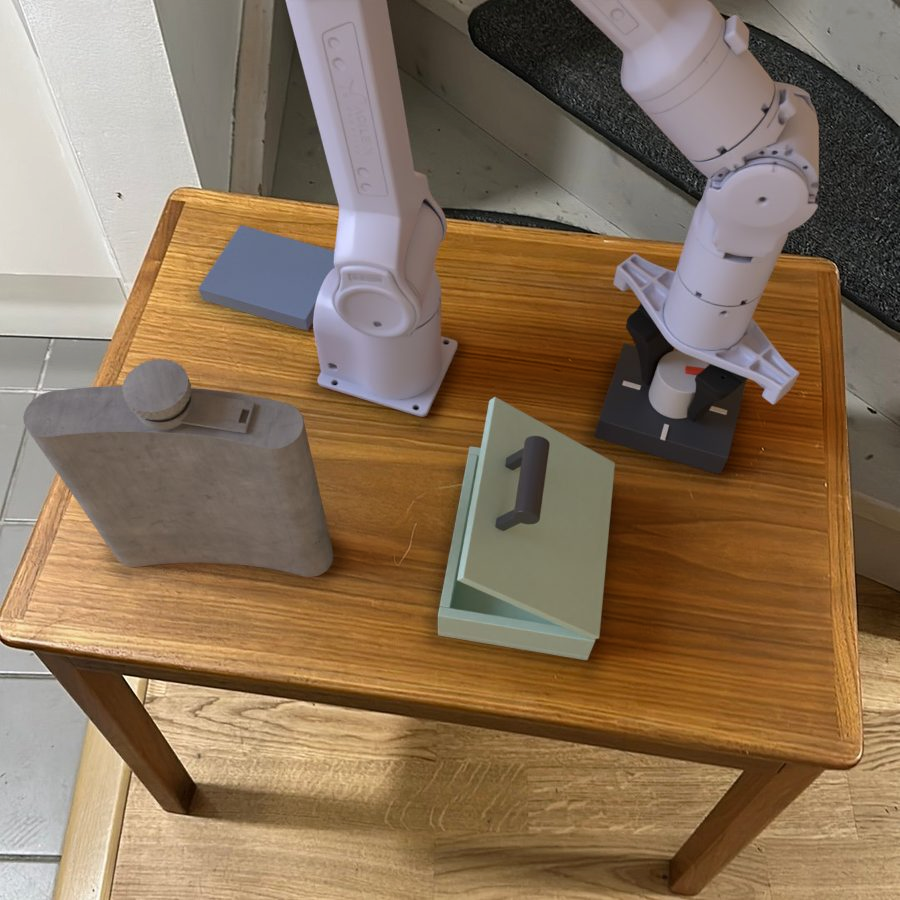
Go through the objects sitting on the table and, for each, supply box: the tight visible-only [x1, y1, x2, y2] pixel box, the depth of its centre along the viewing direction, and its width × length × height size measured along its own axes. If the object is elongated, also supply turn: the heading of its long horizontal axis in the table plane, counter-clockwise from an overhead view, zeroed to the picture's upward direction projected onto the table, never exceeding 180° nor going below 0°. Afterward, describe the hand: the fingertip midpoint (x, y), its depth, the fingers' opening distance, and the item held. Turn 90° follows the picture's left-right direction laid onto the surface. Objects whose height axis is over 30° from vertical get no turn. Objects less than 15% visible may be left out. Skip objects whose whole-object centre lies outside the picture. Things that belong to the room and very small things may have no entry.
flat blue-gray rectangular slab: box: [198, 224, 335, 331], centre depth 80 cm, size 10×8×2 cm
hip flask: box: [22, 358, 335, 578], centre depth 59 cm, size 16×4×20 cm, turn 87°
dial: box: [649, 349, 710, 419], centre depth 70 cm, size 4×4×4 cm
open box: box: [437, 445, 596, 661], centre depth 65 cm, size 10×13×4 cm
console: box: [593, 342, 747, 475], centre depth 73 cm, size 10×8×3 cm
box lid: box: [457, 396, 616, 641], centre depth 60 cm, size 11×13×4 cm
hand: (675, 394), depth 71 cm, fingers closed on dial, 4 cm apart
